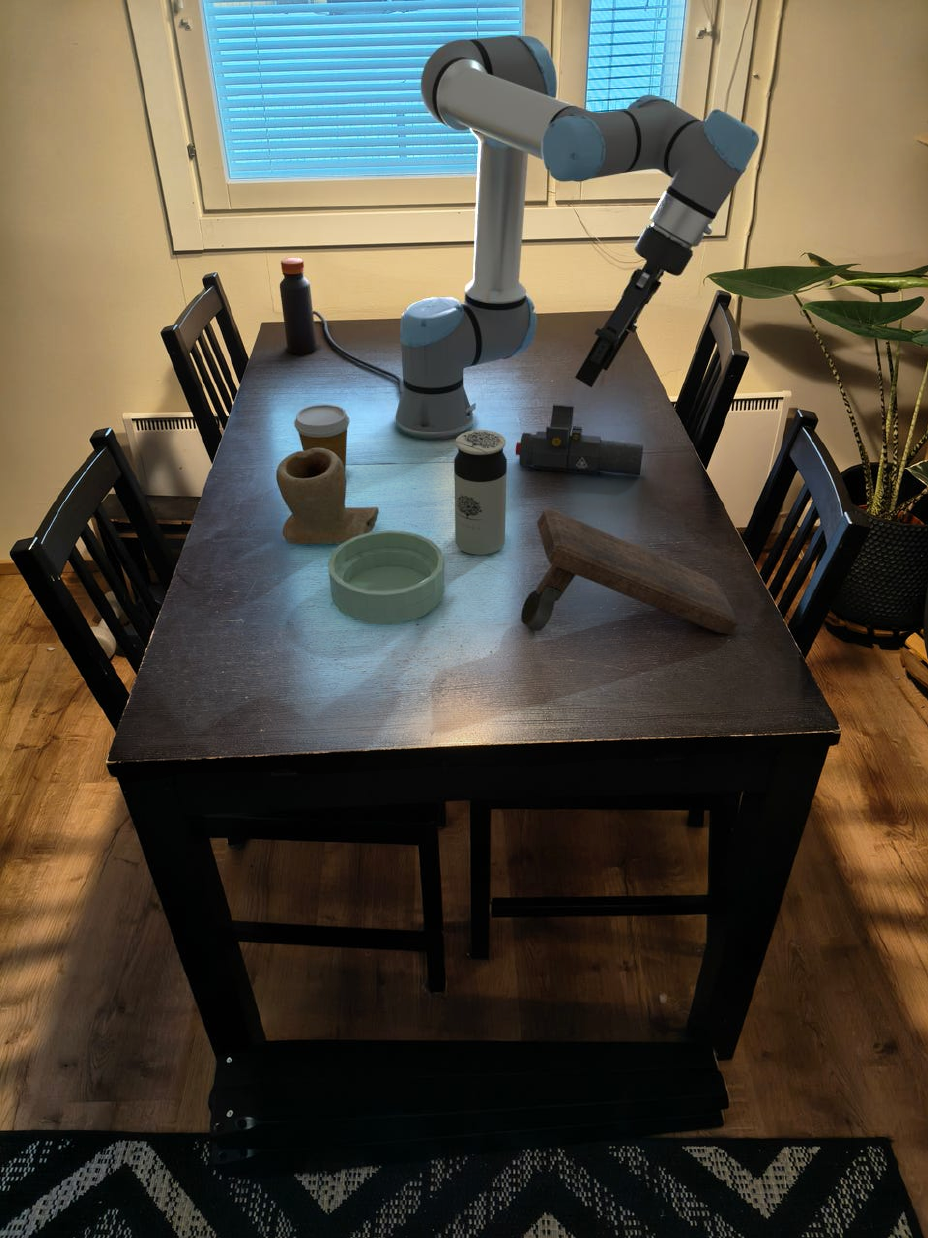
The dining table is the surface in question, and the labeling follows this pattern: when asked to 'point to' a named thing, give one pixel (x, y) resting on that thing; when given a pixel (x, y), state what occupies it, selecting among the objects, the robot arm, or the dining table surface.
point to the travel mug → (480, 492)
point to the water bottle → (297, 307)
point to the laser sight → (576, 449)
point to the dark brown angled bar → (621, 575)
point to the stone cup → (319, 500)
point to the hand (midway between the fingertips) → (591, 373)
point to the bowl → (386, 577)
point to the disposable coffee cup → (323, 429)
